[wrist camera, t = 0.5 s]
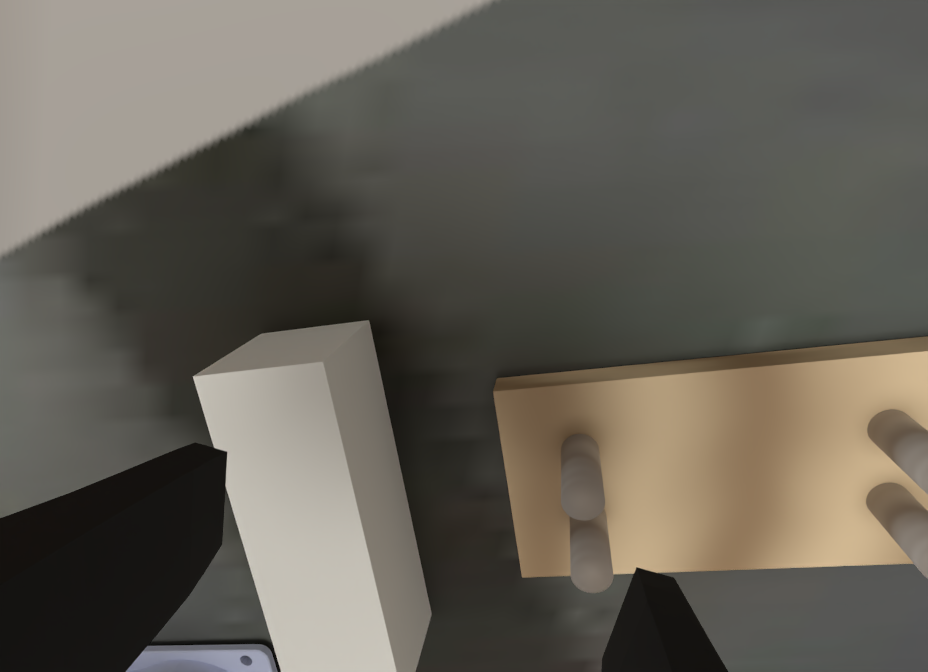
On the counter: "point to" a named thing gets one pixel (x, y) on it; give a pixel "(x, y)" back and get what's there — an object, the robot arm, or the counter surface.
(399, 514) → the white rectangular block
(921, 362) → the peg stand
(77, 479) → the counter surface
